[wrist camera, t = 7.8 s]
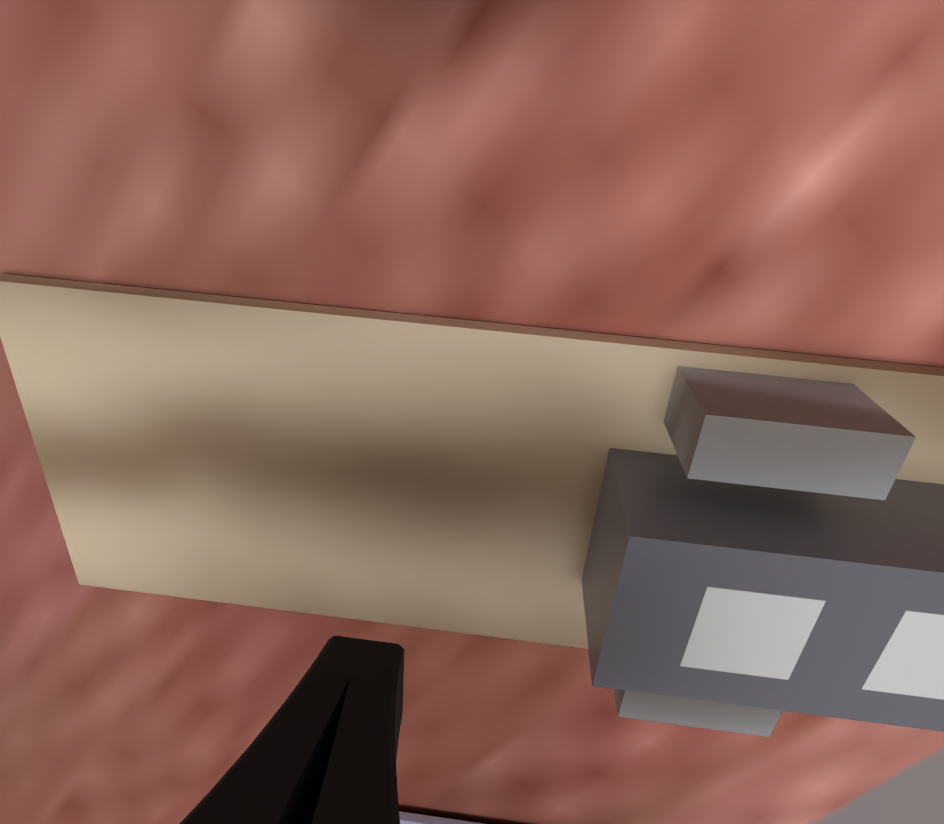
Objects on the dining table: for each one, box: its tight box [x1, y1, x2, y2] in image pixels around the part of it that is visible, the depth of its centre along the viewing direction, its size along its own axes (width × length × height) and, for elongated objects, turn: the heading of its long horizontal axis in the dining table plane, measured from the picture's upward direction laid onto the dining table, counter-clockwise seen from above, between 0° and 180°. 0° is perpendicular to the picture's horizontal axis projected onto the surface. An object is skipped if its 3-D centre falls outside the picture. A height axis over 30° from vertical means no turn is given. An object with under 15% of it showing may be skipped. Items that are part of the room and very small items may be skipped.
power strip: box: [582, 448, 944, 732], centre depth 14 cm, size 4×14×4 cm, turn 86°
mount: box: [0, 274, 944, 737], centre depth 15 cm, size 10×33×3 cm, turn 86°
